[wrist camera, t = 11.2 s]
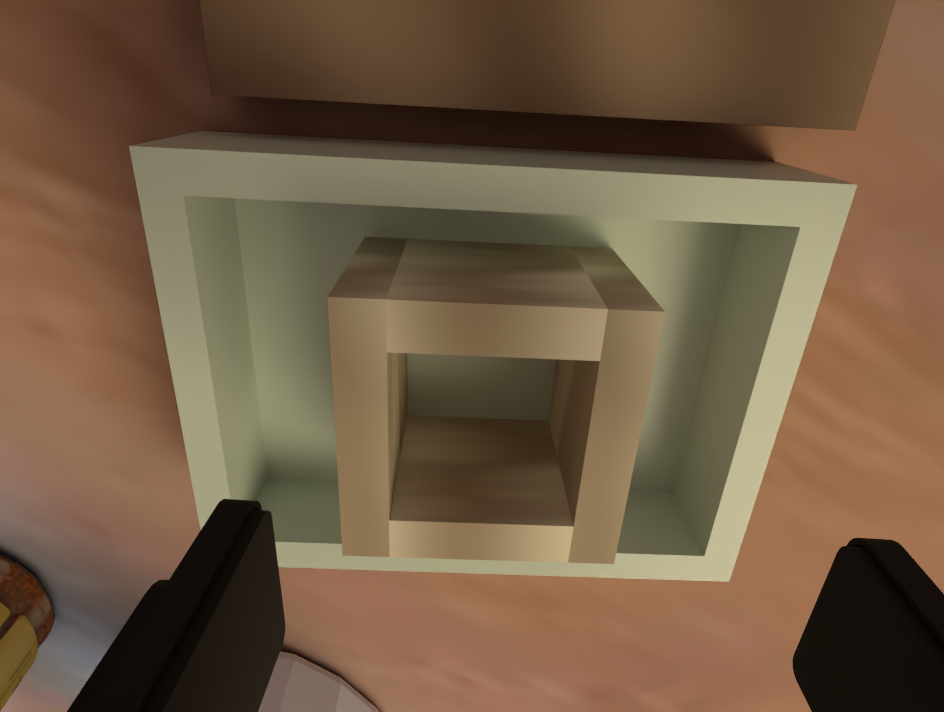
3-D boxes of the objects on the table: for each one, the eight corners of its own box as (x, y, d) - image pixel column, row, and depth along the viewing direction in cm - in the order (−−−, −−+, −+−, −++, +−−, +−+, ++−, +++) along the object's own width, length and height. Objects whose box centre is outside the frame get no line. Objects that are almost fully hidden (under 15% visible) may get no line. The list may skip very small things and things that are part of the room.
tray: (776, 161, 17) (857, 184, 13) (687, 501, 22) (729, 581, 18) (200, 130, 16) (129, 145, 13) (249, 485, 21) (207, 564, 18)
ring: (611, 248, 17) (665, 311, 12) (580, 452, 20) (614, 564, 15) (365, 236, 17) (327, 296, 12) (370, 445, 20) (342, 555, 15)
